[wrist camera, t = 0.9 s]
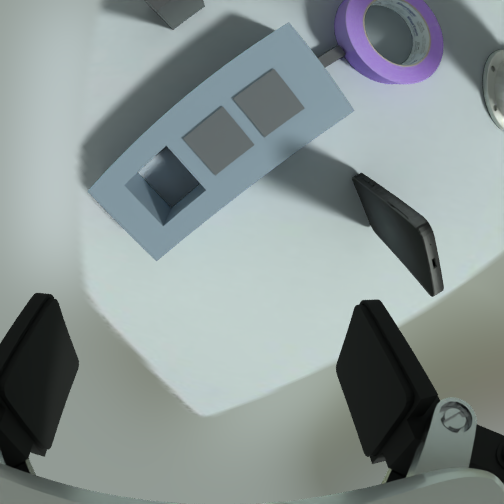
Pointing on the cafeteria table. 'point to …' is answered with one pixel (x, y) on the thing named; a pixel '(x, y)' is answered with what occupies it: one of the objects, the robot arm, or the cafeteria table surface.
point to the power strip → (226, 137)
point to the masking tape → (370, 61)
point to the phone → (402, 232)
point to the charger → (175, 10)
